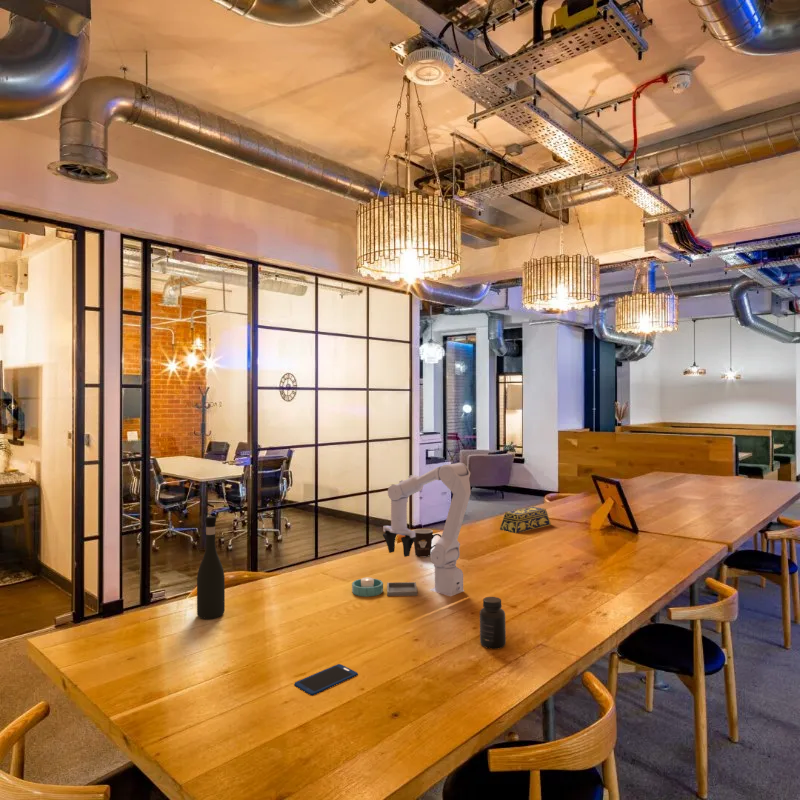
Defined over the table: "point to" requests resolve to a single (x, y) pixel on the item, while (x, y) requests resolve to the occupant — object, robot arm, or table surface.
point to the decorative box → (524, 519)
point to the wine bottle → (210, 578)
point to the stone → (367, 582)
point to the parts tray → (402, 589)
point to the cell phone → (325, 679)
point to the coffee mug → (423, 541)
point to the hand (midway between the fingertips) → (399, 554)
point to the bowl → (367, 591)
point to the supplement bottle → (492, 624)
